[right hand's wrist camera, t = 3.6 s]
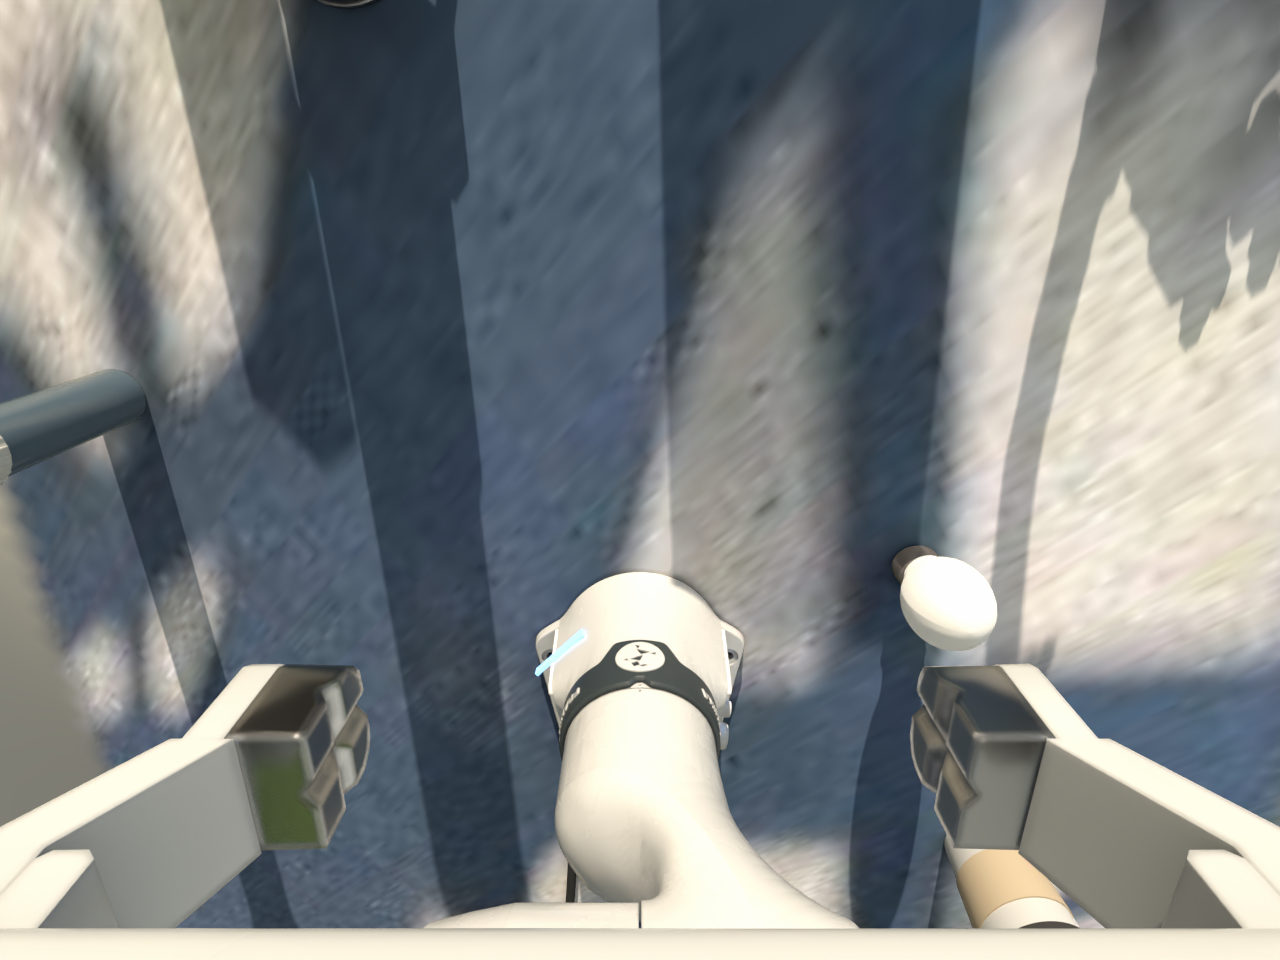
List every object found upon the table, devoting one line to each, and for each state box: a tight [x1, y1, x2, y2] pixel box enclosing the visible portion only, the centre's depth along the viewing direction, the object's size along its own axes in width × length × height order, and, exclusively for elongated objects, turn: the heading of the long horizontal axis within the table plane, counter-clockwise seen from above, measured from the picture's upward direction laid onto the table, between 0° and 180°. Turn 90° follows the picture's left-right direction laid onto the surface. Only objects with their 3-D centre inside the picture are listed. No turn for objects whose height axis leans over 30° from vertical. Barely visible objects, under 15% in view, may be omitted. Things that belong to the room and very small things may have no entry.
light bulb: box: [892, 546, 997, 651], centre depth 58 cm, size 7×7×11 cm
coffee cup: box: [944, 836, 1081, 929], centre depth 68 cm, size 9×9×15 cm
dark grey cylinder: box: [0, 369, 146, 477], centre depth 51 cm, size 4×4×15 cm
